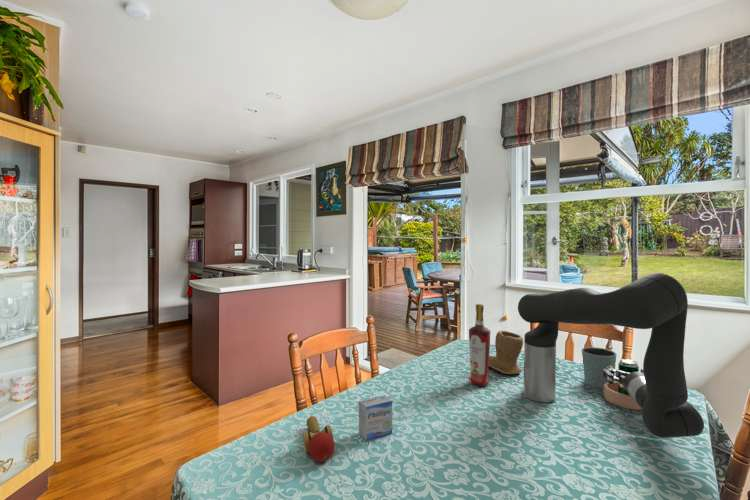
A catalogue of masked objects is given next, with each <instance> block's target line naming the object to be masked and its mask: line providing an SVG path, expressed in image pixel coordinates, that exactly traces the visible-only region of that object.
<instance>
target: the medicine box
mask: <svg viewBox="0 0 750 500" xmlns="http://www.w3.org/2000/svg"><path fill="white" fill-rule="evenodd" d="M392 433H393V400H392V399H390V398H389V397H388V396H386V395H381V396H376V397H372V398H368V399H364V400H363V399H362V400H360V401H358V434H359V435H360V436H361V438H363V439H364V441H366V442H368V441H371V440H370V439H372V440H375V439H378V438H381V437H385V436H387V435H391V434H392ZM384 435H385V436H384ZM380 436H381V437H380ZM377 437H378V438H377ZM374 438H375V439H374ZM367 440H368V441H367Z"/></svg>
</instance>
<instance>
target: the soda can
mask: <svg viewBox="0 0 750 500" xmlns="http://www.w3.org/2000/svg"><path fill="white" fill-rule="evenodd" d="M639 368H640V367H639V364H638V362H637V361H635V360H632V359H629V358H628V359H626V358H622V359H621V358H620V359H619V362H618V369H617V370H621V371H624V372H627V373H628V372H629V373H632V372H640V369H639ZM621 375H623V374H621ZM618 393H622V394H625V395H629V394H628V393H627V391H626V390H625V388H624V386H623V385H622V384H620V383H619V382H618Z"/></svg>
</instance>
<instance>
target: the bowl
mask: <svg viewBox="0 0 750 500" xmlns="http://www.w3.org/2000/svg"><path fill="white" fill-rule="evenodd" d="M603 392H604V398H605V399H606V400H607V401H608V402H610V403H612V404H614V405H617V406H620V407H619V408H621V407H623V408H622V409H629V410H636V411H642V408H641V407H640V406H639V405H638V404H637V403H636V402H635V401H634V400H633V399H632V398H631V396H630V395H625V394H622V393H618V382H615V381H614V382H613V384H610V383H608V382H606V383H605V384H604V389H603Z"/></svg>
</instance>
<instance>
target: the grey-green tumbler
mask: <svg viewBox="0 0 750 500" xmlns="http://www.w3.org/2000/svg"><path fill="white" fill-rule="evenodd" d="M581 355H582V364H583V379H584V384H586V386H590V387H592V388H595V389H597V390H598V389H599V390H604V384H605V383H606V382H607V381H606V379H605V378H604V377H603V369H607V367H608V366H612V367H613V368H614V370H616V362H617V356H618V355H617V353H616V352H615V351H614V350H611V349H607V348H601V347H595V346H593V347H591V346H589V347H583V348H581Z"/></svg>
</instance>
